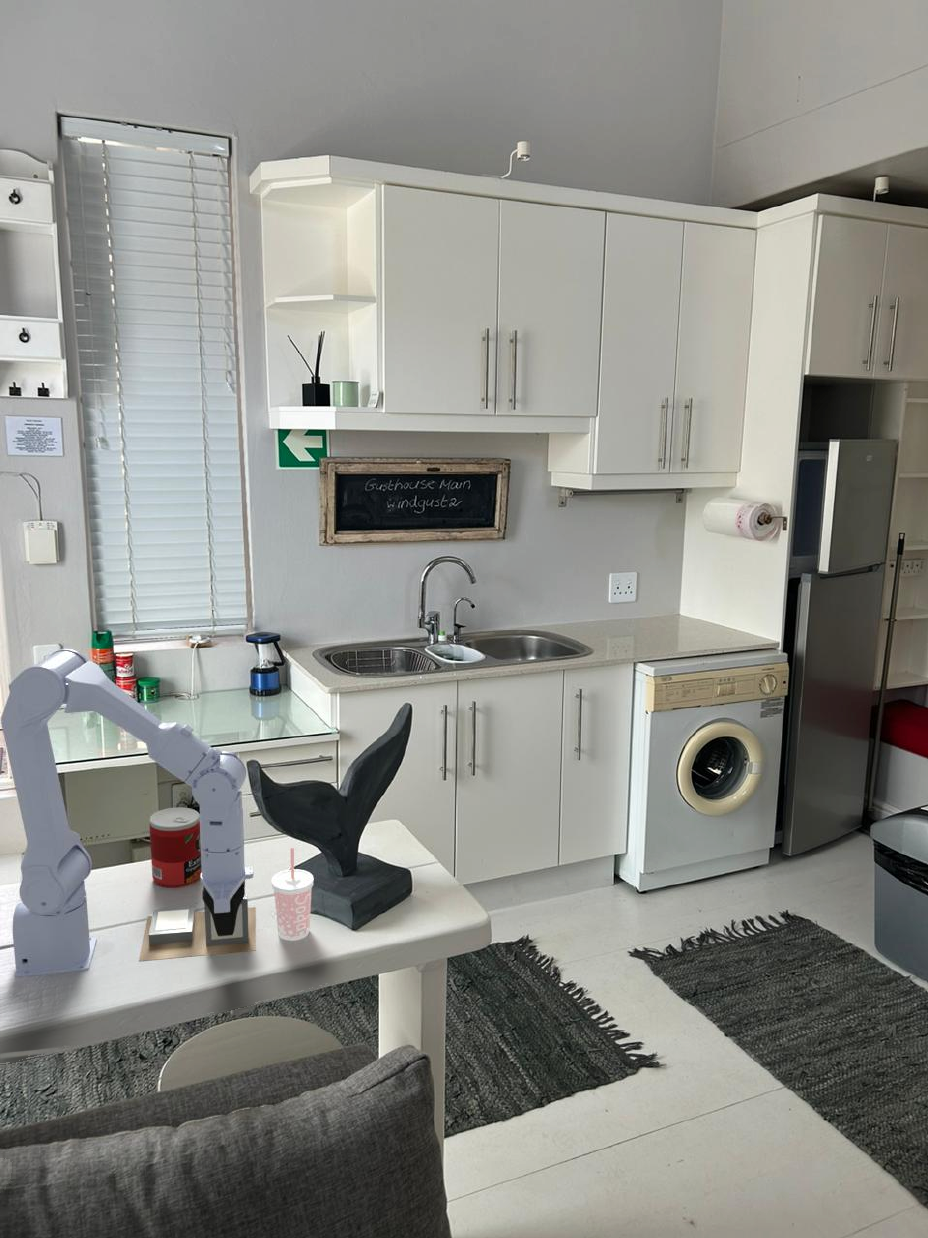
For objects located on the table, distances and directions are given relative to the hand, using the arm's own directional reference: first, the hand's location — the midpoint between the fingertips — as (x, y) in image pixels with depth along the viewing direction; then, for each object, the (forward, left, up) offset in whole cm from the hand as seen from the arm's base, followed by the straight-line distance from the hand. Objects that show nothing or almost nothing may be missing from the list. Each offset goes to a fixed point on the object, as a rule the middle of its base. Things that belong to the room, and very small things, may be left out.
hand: (225, 933), depth 134 cm
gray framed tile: (0, +5, -4) cm, 7 cm away
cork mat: (-4, +8, -5) cm, 10 cm away
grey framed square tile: (-8, +6, -4) cm, 11 cm away
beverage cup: (+10, +6, -5) cm, 12 cm away
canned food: (-8, +26, -5) cm, 28 cm away
